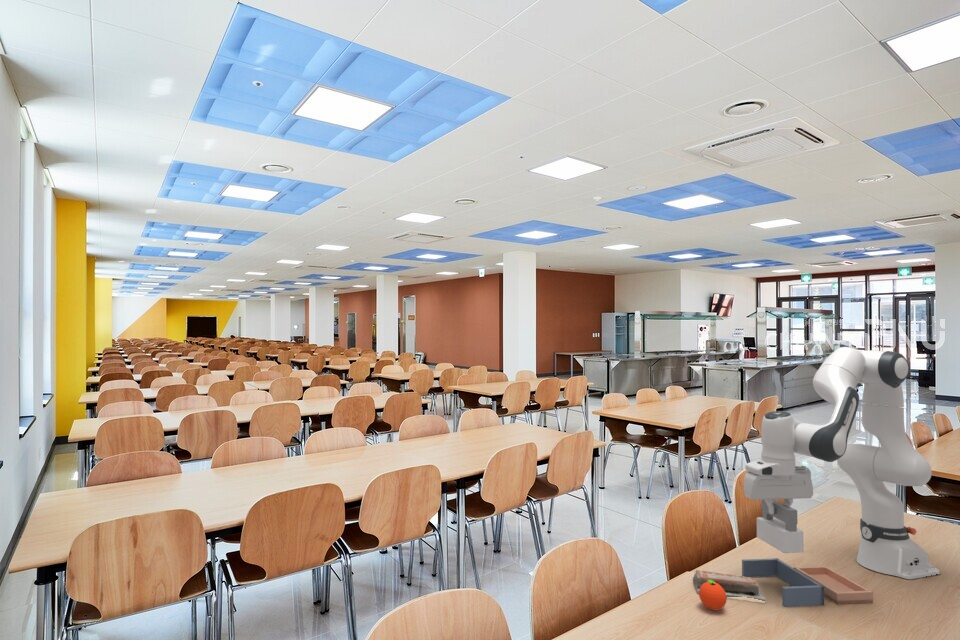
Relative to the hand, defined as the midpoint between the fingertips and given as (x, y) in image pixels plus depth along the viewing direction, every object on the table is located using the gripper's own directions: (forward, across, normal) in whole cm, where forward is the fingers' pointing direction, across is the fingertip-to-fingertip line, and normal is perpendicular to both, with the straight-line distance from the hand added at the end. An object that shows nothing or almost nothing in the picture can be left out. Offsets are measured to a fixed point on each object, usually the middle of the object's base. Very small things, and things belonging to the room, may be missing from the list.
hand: (778, 513), depth 153 cm
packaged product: (+23, +16, 0) cm, 28 cm away
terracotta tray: (+22, -16, +1) cm, 27 cm away
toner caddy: (+9, 0, 0) cm, 9 cm away
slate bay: (+22, 0, 0) cm, 22 cm away
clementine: (+22, +26, +8) cm, 35 cm away
